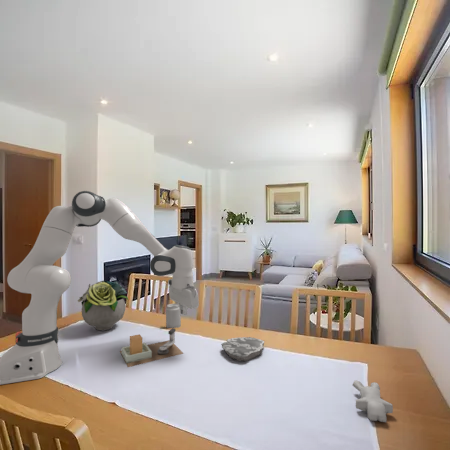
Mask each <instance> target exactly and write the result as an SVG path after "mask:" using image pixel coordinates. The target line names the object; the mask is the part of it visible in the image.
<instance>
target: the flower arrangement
mask: <svg viewBox="0 0 450 450" xmlns="http://www.w3.org/2000/svg"><path fill="white" fill-rule="evenodd" d="M127 294H128V292H127V291H126V288H124V287H123V286H122V285H121V284H119V283H118V281H114V282H113V281H109V280H108V281H107V280H99V281H97V282H95V283H93V284H92V285H91V283H89V284H88V286H87V289H86V291H85V292H84V293H82V295H81V296H80V297H79V299H78V300H77V302H78V303H80V302H81V317H82V319H83V321H84V322H85V323H86V324H88V325H89V326H91V327H94V329H96V331H107V330H111V329H112V328H113V327H114V325H115V324H117V323H119V321H121V320H122V319H123V317H124V315H125V312H126V301H125V299H126V300H127V301H130V300H129V298H128V296H126V295H127Z"/></svg>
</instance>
